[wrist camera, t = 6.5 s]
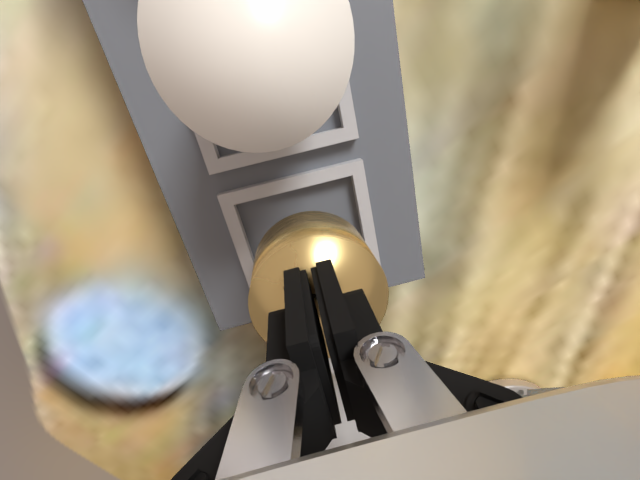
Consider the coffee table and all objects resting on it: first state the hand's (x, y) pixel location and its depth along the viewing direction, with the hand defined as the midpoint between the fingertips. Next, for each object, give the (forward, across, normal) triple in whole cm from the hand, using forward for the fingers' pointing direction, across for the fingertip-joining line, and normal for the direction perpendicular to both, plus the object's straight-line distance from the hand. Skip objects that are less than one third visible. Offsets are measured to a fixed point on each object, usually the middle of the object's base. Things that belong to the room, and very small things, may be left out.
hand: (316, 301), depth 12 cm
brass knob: (+3, 0, 0) cm, 3 cm away
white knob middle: (+3, 0, -8) cm, 8 cm away
